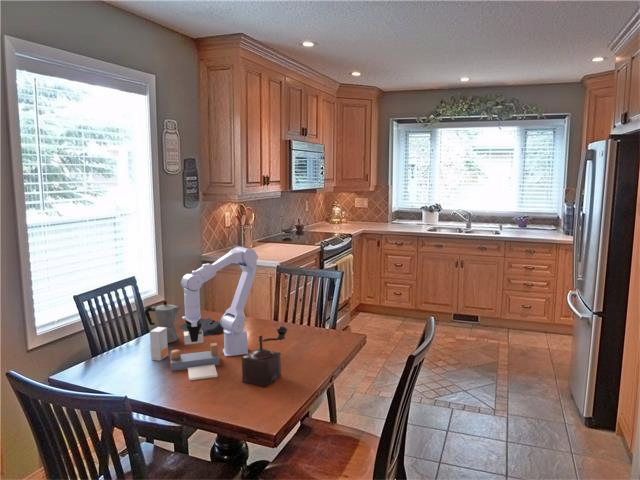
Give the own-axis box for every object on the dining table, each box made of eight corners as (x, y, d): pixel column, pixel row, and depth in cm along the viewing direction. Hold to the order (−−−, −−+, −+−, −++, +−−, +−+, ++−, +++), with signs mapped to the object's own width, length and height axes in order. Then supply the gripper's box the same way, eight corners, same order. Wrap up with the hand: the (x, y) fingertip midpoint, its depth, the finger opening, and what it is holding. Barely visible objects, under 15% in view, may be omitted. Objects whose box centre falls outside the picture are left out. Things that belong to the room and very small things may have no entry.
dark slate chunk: (202, 321, 245) (202, 311, 244) (231, 329, 231) (231, 320, 230) (176, 328, 233) (176, 319, 232) (205, 338, 219) (205, 328, 219)
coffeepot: (182, 335, 222) (181, 297, 220) (181, 342, 213) (179, 302, 211) (147, 337, 219) (145, 299, 216) (144, 345, 210) (142, 304, 207)
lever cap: (202, 338, 192) (202, 328, 191) (203, 342, 187) (203, 332, 186) (184, 340, 189) (183, 330, 189) (184, 344, 185) (184, 334, 184)
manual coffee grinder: (267, 388, 168) (266, 338, 165) (241, 382, 173) (240, 333, 170) (290, 371, 181) (289, 325, 179) (265, 366, 186) (264, 321, 184)
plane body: (217, 357, 196) (216, 340, 195) (219, 364, 188) (218, 347, 187) (170, 362, 190) (169, 345, 189) (171, 370, 183) (170, 353, 182)
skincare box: (160, 361, 192) (159, 332, 191) (151, 360, 193) (149, 331, 192) (168, 355, 198) (167, 327, 197) (159, 354, 199) (157, 326, 197)
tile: (214, 366, 187) (214, 364, 187) (217, 376, 177) (217, 374, 177) (187, 369, 184) (187, 367, 184) (189, 380, 174) (189, 378, 174)
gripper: (180, 301, 192) (182, 334, 194) (182, 311, 178) (184, 346, 180) (199, 299, 194) (200, 332, 196) (202, 309, 180) (203, 344, 182)
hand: (193, 339), depth 188 cm, fingers closed on lever cap, 5 cm apart
